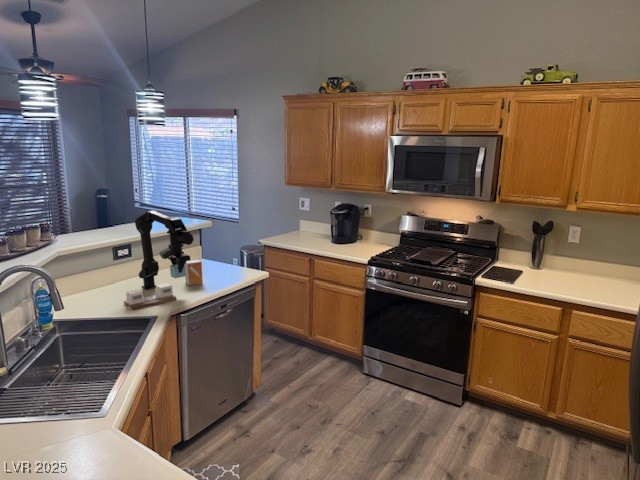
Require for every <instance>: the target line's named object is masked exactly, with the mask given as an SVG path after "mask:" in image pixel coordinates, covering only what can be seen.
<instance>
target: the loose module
mask: <svg viewBox="0 0 640 480" xmlns="http://www.w3.org/2000/svg"><path fill="white" fill-rule="evenodd" d="M169 267H170V268H169V269H170V271H169V272H170V277H171V278H174V279H178V278H183V277H184V278H185V276H186V271H185V265H184V267H183V270H182V272H181V273H179V270H178V265H177V264H174V265H172V264H170V265H169Z"/></svg>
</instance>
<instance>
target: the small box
mask: <svg viewBox="0 0 640 480" xmlns="http://www.w3.org/2000/svg"><path fill="white" fill-rule="evenodd" d="M202 264H203V263H202V261H201V260H199V259H194V260H193V259H192V260H191V259H190V261H186V263H185V271H186V276H184V278H185V283H186V285H187V286H194V285H203V265H202Z"/></svg>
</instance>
